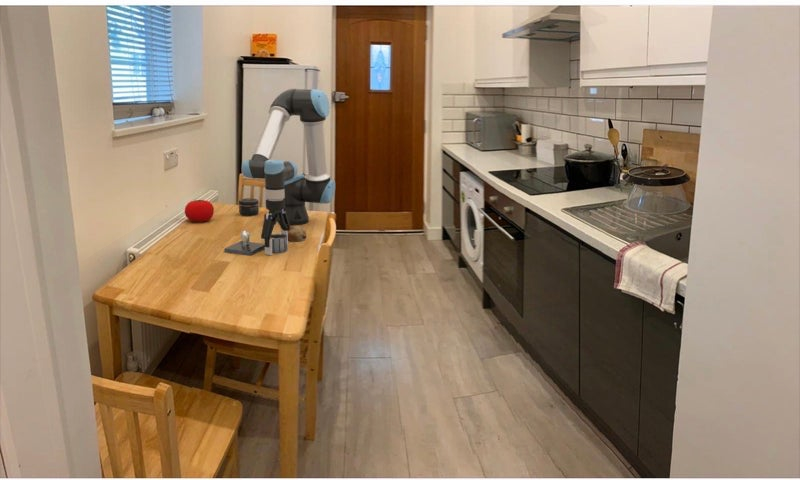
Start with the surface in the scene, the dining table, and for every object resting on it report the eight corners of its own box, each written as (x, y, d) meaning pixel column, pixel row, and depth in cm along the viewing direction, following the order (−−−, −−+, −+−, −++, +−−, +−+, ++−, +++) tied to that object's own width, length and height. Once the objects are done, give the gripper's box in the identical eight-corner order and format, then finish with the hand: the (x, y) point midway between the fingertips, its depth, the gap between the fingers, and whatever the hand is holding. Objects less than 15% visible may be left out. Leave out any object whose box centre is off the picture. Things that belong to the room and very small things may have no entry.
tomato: (202, 225, 258) (201, 203, 255) (179, 222, 261) (177, 201, 259) (220, 218, 271) (219, 198, 268) (198, 216, 275) (196, 196, 272)
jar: (235, 214, 282) (234, 199, 280) (251, 211, 289) (250, 197, 287) (246, 217, 276) (245, 202, 273) (263, 214, 283) (262, 200, 281)
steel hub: (272, 246, 229) (272, 232, 227) (290, 248, 226) (290, 234, 225) (262, 252, 221) (261, 237, 219) (281, 254, 219) (280, 240, 217)
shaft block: (241, 244, 230) (240, 225, 228) (266, 247, 227) (265, 228, 225) (224, 252, 219) (223, 232, 217) (250, 255, 216) (249, 235, 214)
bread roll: (297, 250, 236) (304, 235, 234) (276, 239, 237) (283, 223, 234) (305, 244, 246) (312, 229, 243) (285, 233, 246) (292, 218, 243)
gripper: (281, 192, 230) (283, 241, 236) (250, 204, 207) (252, 257, 213) (297, 194, 228) (298, 243, 234) (267, 205, 205) (269, 259, 211)
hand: (276, 250), depth 223 cm, fingers open, 13 cm apart
